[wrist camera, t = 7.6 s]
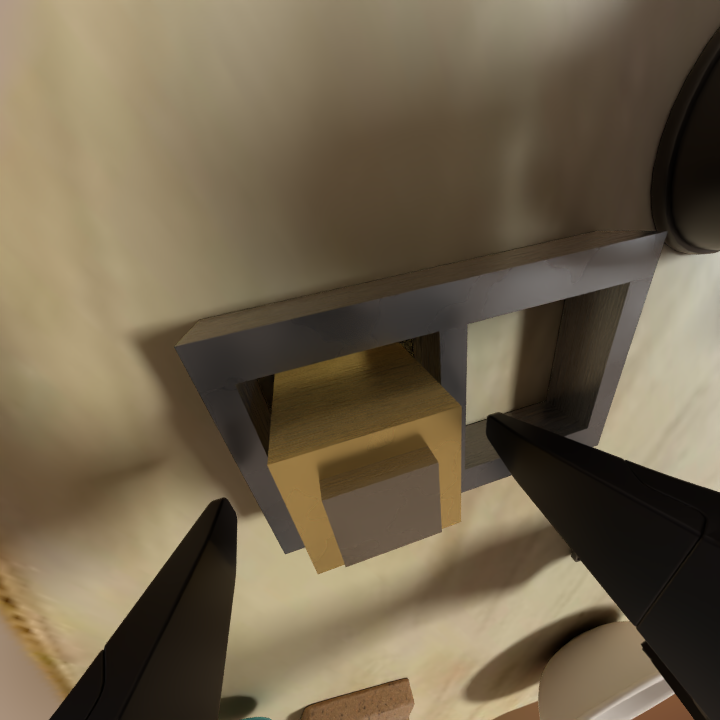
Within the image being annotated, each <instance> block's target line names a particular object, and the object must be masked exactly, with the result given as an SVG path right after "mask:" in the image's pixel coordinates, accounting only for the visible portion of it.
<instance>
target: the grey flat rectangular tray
mask: <svg viewBox="0 0 720 720" xmlns="http://www.w3.org/2000/svg"><path fill="white" fill-rule="evenodd" d="M667 232H668V231H594V232H590V233H585V234H581V235H576V236H572V237H567V238H563V239H558V240H554V241H549V242H545V243H540V244H536V245H532V246H527V247H523V248H518V249H514V250H509V251H505V252H500V253H496V254H491V255H487V256H482V257H478V258H473V259H469V260H465V261H460V262H456V263H451V264H447V265H442V266H438V267H433V268H429V269H424V270H420V271H415V272H411V273H406V274H402V275H397V276H393V277H389V278H384V279H380V280H375V281H371V282H366V283H362V284H357V285H353V286H348V287H344V288H339V289H335V290H330V291H326V292H322V293H317V294H313V295H308V296H304V297H299V298H295V299H290V300H286V301H281V302H277V303H272V304H268V305H263V306H259V307H254V308H250V309H246V310H241V311H237V312H232V313H228V314H223V315H219V316H214V317H210V318H205V319H201V320H199V321H198V322H197V323H196V324H195V325H194V326H193V327H192V328H191V329H190V330H189V331H188V333H187V334H186V335H185V336H184V337H183V338H182V339H181V340H180V341H179V342H178V343H177V344H176V345H175V346H174V348H175V349H176V351H177V353H178V355H179V357H180V359H181V361H182V363H183V364H184V366H185V368H186V370H187V372H188V374H189V376H190V377H191V379H192V381H193V383H194V385H195V387H196V389H197V391H198V392H199V394H200V396H201V398H202V400H203V402H204V404H205V405H206V407H207V409H208V411H209V413H210V415H211V417H212V419H213V420H214V422H215V424H216V426H217V428H218V430H219V432H220V434H221V435H222V437H223V439H224V441H225V443H226V445H227V447H228V448H229V450H230V452H231V454H232V456H233V458H234V460H235V462H236V463H237V465H238V467H239V469H240V471H241V473H242V475H243V477H244V478H245V480H246V482H247V484H248V486H249V488H250V490H251V491H252V493H253V495H254V497H255V499H256V501H257V503H258V505H259V506H260V508H261V510H262V512H263V514H264V516H265V518H266V519H267V521H268V523H269V525H270V527H271V529H272V531H273V533H274V534H275V536H276V538H277V540H278V542H279V544H280V546H281V548H282V549H283V551H284V553H285V554H288V553H290V552H293V551H296V550H299V549H302V548H305V545H304V543H303V541H302V539H301V537H300V535H299V532H298V530H297V528H296V526H295V524H294V522H293V520H292V517H291V515H290V513H289V511H288V509H287V507H286V504H285V502H284V500H283V498H282V496H281V494H280V492H279V489H278V487H277V485H276V483H275V481H274V479H273V477H272V474H271V472H270V470H269V468H268V466H267V462H268V451H269V439H270V427H271V414H270V411H269V409H268V406H267V404H266V401H265V399H264V396H263V394H262V391H261V389H260V386H259V384H258V381H257V378H261V377H265V376H268V375H272V374H276V373H280V372H284V371H288V370H292V369H295V368H299V367H303V366H307V365H311V364H315V363H319V362H322V361H326V360H330V359H334V358H338V357H342V356H346V355H350V354H353V353H357V352H361V351H365V350H369V349H373V348H377V347H380V346H384V345H388V344H392V343H396V342H400V341H404V340H407V339H411V338H412V339H413V351H414V358H415V359H416V360H417V361H418V362H419V363H420V364H421V365H422V366H423V367H424V368H425V369H426V370H427V372H428V373H429V374H430V375H431V376H432V377H433V378H434V379H435V380H436V381H437V382H438V383H439V384H440V385H441V386H442V387H443V388H444V389H445V390H446V391H447V392H448V393H449V394H450V395H451V396H452V397H453V398H454V399H455V400H456V401H457V402H458V403H459V404H460V405H461V406H462V423H461V493H462V492H465V491H468V490H471V489H474V488H476V487H479V486H482V485H485V484H488V483H491V482H494V481H496V480H499V479H502V478H505V477H508V476H511V473H510V472H509V470H508V469H507V467H506V466H505V464H504V463H503V461H502V460H501V458H500V457H499V455H498V454H497V452H496V451H495V449H494V448H493V446H492V445H491V443H490V442H489V440H488V438H487V436H486V421H487V419H486V420H483V421H480V422H477V423H474V424H471V425H467V426H466V375H467V324H469V323H473V322H477V321H481V320H485V319H489V318H493V317H496V316H500V315H504V314H508V313H512V312H516V311H520V310H523V309H527V308H531V307H535V306H539V305H543V304H547V303H550V302H554V301H558V300H562V299H565V303H564V308H563V314H562V319H561V324H560V330H559V335H558V340H557V346H556V351H555V356H554V362H553V367H552V372H551V378H550V383H549V388H548V394H547V399H546V401H544V402H541V403H537V404H534V405H531V406H528V407H525V408H521V409H518V410H515V411H512V412H509V413H506V414H505V415H508V416H511V417H513V418H516V419H519V420H521V421H524V422H527V423H529V424H532V425H535V426H537V427H540V428H543V429H545V430H548V431H551V432H553V433H556V434H559V435H561V436H564V437H566V438H569V439H572V440H574V441H577V442H580V443H582V444H585V445H588V446H590V447H594V446H597V445H598V443H599V440H600V437H601V434H602V431H603V428H604V425H605V422H606V419H607V415H608V412H609V409H610V406H611V403H612V400H613V397H614V394H615V391H616V388H617V385H618V382H619V379H620V376H621V373H622V370H623V367H624V364H625V361H626V357H627V354H628V351H629V348H630V345H631V342H632V339H633V336H634V333H635V330H636V327H637V324H638V321H639V318H640V315H641V312H642V309H643V306H644V303H645V299H646V296H647V293H648V290H649V287H650V284H651V281H652V278H653V275H654V272H655V269H656V266H657V263H658V260H659V257H660V254H661V251H662V248H663V244H664V241H665V238H666V235H667Z"/></svg>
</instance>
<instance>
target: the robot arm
mask: <svg viewBox="0 0 720 720" xmlns="http://www.w3.org/2000/svg"><path fill="white" fill-rule="evenodd" d="M486 436H487V438H488V440H489V442H490V443H491V445H492V446H493V448H494V449H495V451H496V452H497V454H498V455H499V457H500V458H501V460H502V461H503V463H504V464H505V466H506V467H507V469H508V470H509V472H510V473H511V475H512V476H513V477H514V479H515V480H516V481H517V482H518V484H519V485H520V486H521V487H522V489H523V490H524V491H525V492H526V494H527V495H528V496H529V497H530V499H531V500H532V501H533V502H534V503H535V505H536V506H537V507H538V508H539V510H540V511H541V512H542V513H543V515H544V516H545V517H546V518H547V519H548V521H549V522H550V523H551V524H552V526H553V527H554V528H555V529H556V531H557V532H558V533H559V534H560V535H561V537H562V538H563V539H564V540H565V542H566V543H567V544H568V545H569V547H570V548H571V549H572V550H573V551H572V554H571V557H572V558H573V560H574V561H575V562H578V561H582V563H583V564H584V565H585V566H586V568H587V569H588V570H589V571H590V572H591V574H592V575H593V576H594V577H595V579H596V580H597V581H598V582H599V584H600V585H601V586H602V587H603V588H604V590H605V591H606V592H607V593H608V595H609V596H610V597H611V598H612V600H613V601H614V602H615V603H616V604H617V606H618V607H619V608H620V609H621V611H622V612H623V613H624V614H625V616H626V617H627V618H628V619H629V620H630V622H631V623H632V624H633V625H634V626H635V627H636V629H637V631H638V632H639V633H640V634H641V636H642V637H643V638H644V639H645V641H644V642H642V643H641V646H642V647H643V648H642V650H643V651H644V652H645V654H646V655H647V656H648V657H649V658H650V660H651V662H652V663H653V665H654V666H655V667H656V669H657V670H658V671H659V673H660V674H661V675H662V677H663V678H664V679H665V681H666V682H667V683H668V685H669V686H670V687H671V689H672V690H673V691H674V693H675V694H676V695H677V697H678V698H679V699H680V701H681V702H682V703H683V705H684V706H685V707H686V709H687V710H688V711H689V713H690V714H691V716H692V717H693V719H694V720H720V492H717V491H714V490H711V489H708V488H705V487H702V486H699V485H696V484H693V483H690V482H687V481H684V480H681V479H678V478H675V477H672V476H669V475H666V474H663V473H660V472H657V471H655V470H652V469H649V468H646V467H644V466H641V465H638V464H636V463H633V462H630V461H628V460H623V459H622V458H620V457H617V456H614V455H612V454H609V453H606V452H604V451H601V450H598V449H596V448H593V447H590V446H588V445H585V444H582V443H580V442H577V441H574V440H572V439H569V438H566V437H564V436H561V435H559V434H556V433H553V432H551V431H548V430H545V429H543V428H540V427H537V426H535V425H532V424H529V423H527V422H524V421H521V420H519V419H516V418H513V417H511V416H508V415H505V414H503V413H500V412H497V413H493V414H490V415H488V416H487V421H486ZM236 556H237V515H236V512H235V511H234V509H233V507H232V506H231V504H230V502H229V501H228V499H227V498H220V499H217V500H214V501H212V502H211V503H210V504H209V505H208V506H207V507H206V509H205V510H204V512H203V513H202V514H201V516H200V517H199V518H198V520H197V521H196V522H195V524H194V525H193V526H192V528H191V529H190V531H189V532H188V533H187V535H186V536H185V537H184V539H183V540H182V541H181V543H180V544H179V546H178V547H177V548H176V550H175V551H174V552H173V554H172V555H171V556H170V558H169V559H168V561H167V562H166V563H165V565H164V566H163V567H162V569H161V570H160V571H159V573H158V574H157V575H156V577H155V578H154V580H153V581H152V582H151V584H150V585H149V586H148V588H147V589H146V590H145V592H144V593H143V595H142V596H141V597H140V599H139V600H138V601H137V603H136V604H135V605H134V607H133V608H132V609H131V611H130V612H129V614H128V615H127V616H126V618H125V619H124V620H123V622H122V623H121V624H120V626H119V627H118V629H117V630H116V631H115V633H114V634H113V635H112V637H111V638H110V639H109V641H108V642H107V643H106V645H105V647H104V650H102V651H101V652H100V653H99V654H98V656H97V657H96V658H95V660H94V661H93V662H92V664H91V665H90V666H89V668H88V669H87V671H86V672H85V673H84V675H83V676H82V677H81V679H80V680H79V681H78V682H77V684H76V685H75V686H74V688H73V689H72V690H71V692H70V693H69V694H68V696H67V697H66V698H65V700H64V701H63V702H62V704H61V705H60V706H59V708H58V709H57V710H56V712H55V713H54V714H53V715H52V717H51V718H50V719H49V720H218V715H219V707H220V699H221V691H222V683H223V675H224V667H225V659H226V651H227V643H228V635H229V627H230V619H231V611H232V603H233V595H234V587H235V578H236Z"/></svg>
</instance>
